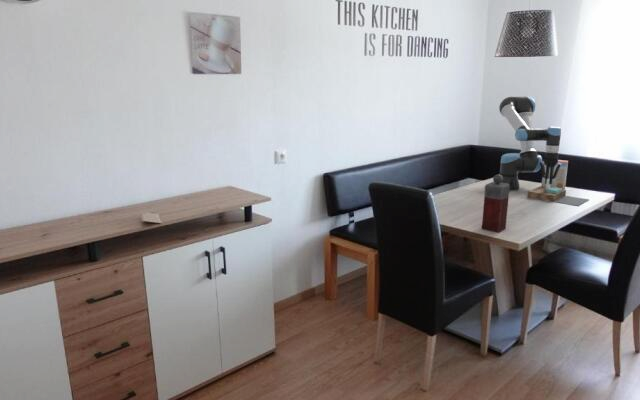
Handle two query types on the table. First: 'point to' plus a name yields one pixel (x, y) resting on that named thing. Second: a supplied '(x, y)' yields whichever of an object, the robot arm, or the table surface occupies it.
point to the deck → (545, 194)
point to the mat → (571, 200)
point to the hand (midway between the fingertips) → (547, 189)
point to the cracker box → (558, 175)
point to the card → (554, 190)
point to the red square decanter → (495, 205)
